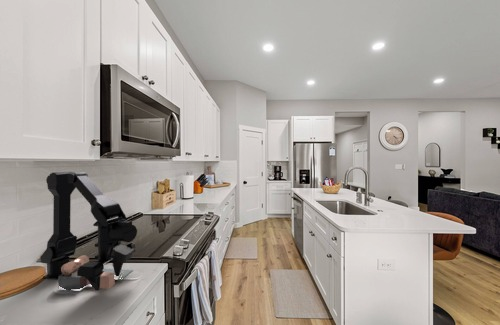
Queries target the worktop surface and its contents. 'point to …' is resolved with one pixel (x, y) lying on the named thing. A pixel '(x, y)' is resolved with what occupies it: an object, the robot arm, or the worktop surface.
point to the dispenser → (72, 274)
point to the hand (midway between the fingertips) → (108, 282)
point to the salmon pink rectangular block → (105, 280)
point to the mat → (120, 272)
